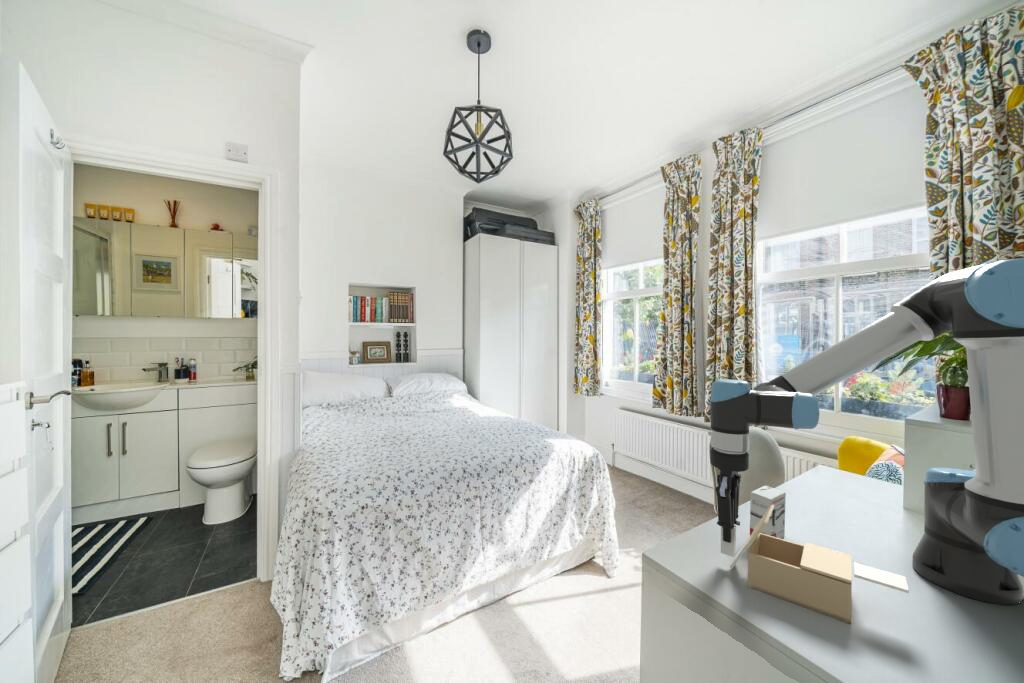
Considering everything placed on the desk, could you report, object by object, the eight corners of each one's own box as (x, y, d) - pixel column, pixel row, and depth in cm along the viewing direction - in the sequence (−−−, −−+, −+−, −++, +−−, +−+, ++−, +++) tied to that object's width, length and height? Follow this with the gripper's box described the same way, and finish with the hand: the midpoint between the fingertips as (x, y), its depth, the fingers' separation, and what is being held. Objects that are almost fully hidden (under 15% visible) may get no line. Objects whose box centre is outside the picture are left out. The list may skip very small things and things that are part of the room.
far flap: (774, 505, 86) (772, 504, 86) (766, 523, 78) (764, 521, 78) (739, 553, 90) (737, 551, 91) (728, 575, 82) (726, 573, 83)
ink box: (770, 546, 95) (770, 498, 95) (748, 537, 99) (749, 491, 99) (785, 536, 100) (786, 490, 99) (764, 528, 104) (765, 484, 103)
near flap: (800, 567, 74) (800, 564, 74) (804, 544, 82) (804, 542, 82) (910, 601, 65) (910, 598, 65) (903, 572, 73) (903, 569, 73)
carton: (850, 592, 78) (851, 558, 78) (851, 624, 70) (851, 585, 69) (757, 562, 88) (757, 532, 88) (747, 586, 80) (748, 552, 80)
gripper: (718, 440, 94) (717, 536, 95) (702, 452, 84) (701, 560, 85) (754, 446, 89) (753, 547, 90) (742, 460, 79) (741, 574, 80)
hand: (728, 553), depth 87 cm, fingers closed
